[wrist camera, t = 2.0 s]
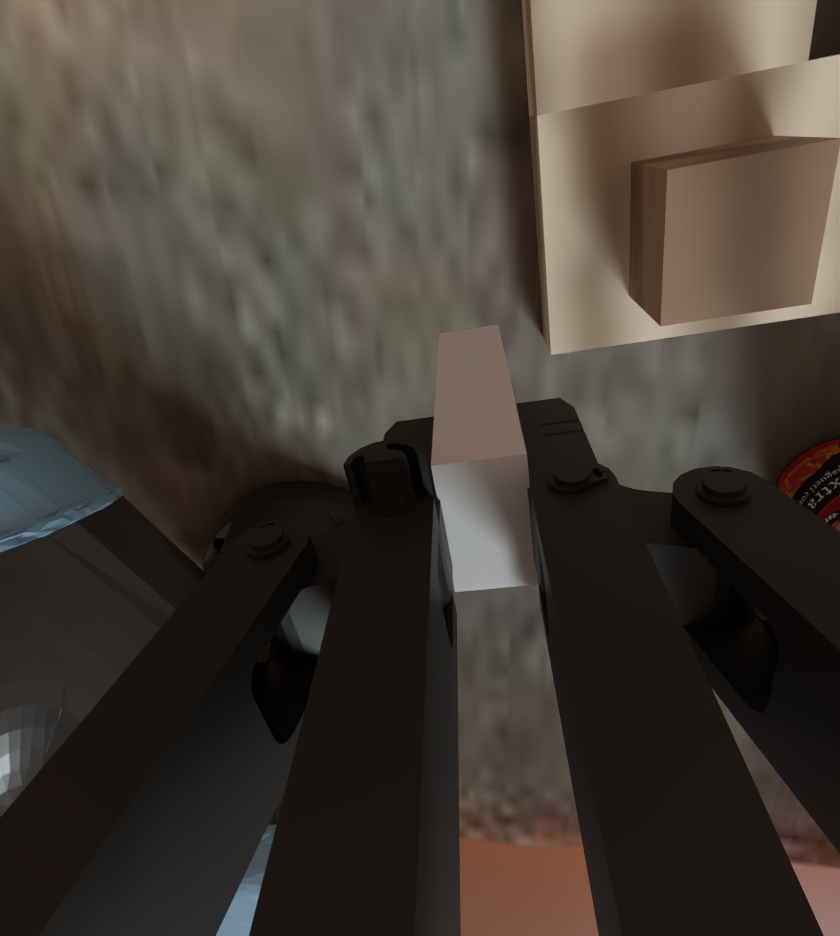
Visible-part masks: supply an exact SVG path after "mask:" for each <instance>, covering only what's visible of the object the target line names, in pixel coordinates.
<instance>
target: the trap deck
mask: <svg viewBox="0 0 840 936" xmlns="http://www.w3.org/2000/svg"><path fill="white" fill-rule="evenodd" d="M522 15H523V31H524V46H525V62H526V77H527V93H528V108H529V124H530V139H531V155H532V170H533V186H534V201H535V217H536V232H537V248H538V263H539V279H540V294H541V310H542V325H543V337H544V340H545V342H546V344H547V347H548V349H549V351H550V354H551V355H554V354H561V353H568V352H574V351H581V350H588V349H595V348H602V347H608V346H615V345H622V344H629V343H636V342H642V341H649V340H656V339H663V338H669V337H676V336H683V335H690V334H697V333H703V332H710V331H717V330H724V329H731V328H737V327H744V326H751V325H758V324H765V323H771V322H778V321H785V320H792V319H798V318H805V317H812V316H819V315H826V314H832V313H839V312H840V148H839V154H838V159H837V165H836V171H835V176H834V182H833V187H832V193H831V198H830V204H829V209H828V215H827V220H826V226H825V232H824V237H823V243H822V248H821V254H820V259H819V265H818V270H817V276H816V281H815V287H814V293H813V298H812V304H807V305H800V306H794V307H787V308H780V309H774V310H767V311H760V312H754V313H747V314H740V315H734V316H727V317H720V318H714V319H707V320H700V321H694V322H687V323H680V324H674V325H667V326H659V325H658V324H657V323H656V322H655V321H654V320H653V319H652V318H651V317H650V316H649V315H648V314H647V313H646V312H645V311H644V310H643V309H642V308H641V307H640V306H639V305H638V304H637V303H636V302H635V301H634V300H633V299H632V298H631V297H630V296H629V264H630V197H631V162H635V161H641V160H646V159H651V158H657V157H662V156H667V155H673V154H678V153H683V152H689V151H694V150H699V149H705V148H710V147H715V146H721V145H726V144H731V143H737V142H742V141H747V140H752V139H758V138H763V137H768V136H800V137H827V138H840V0H522Z"/></svg>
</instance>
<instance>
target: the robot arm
mask: <svg viewBox="0 0 840 936" xmlns="http://www.w3.org/2000/svg"><path fill="white" fill-rule="evenodd" d="M343 466H344V470H345V473H346V477H347V480H348V484H349V487H350V491H351V492H350V491H347V490H344V489H341V488H338V487H335V486H331V485H326V484H320V483H313V482H287V483H280V484H275V485H270V486H267V487H264V488H261V489H258V490H256V491H254V492H252V493H250V494H248V495H246V496H244V497H243V498H241V499H240V500H239V501H237V502H236V503H235V504H234V505H233V506H232V507H231V508H230V509H229V510H228V511H227V512H226V514H225V515H224V516H223V518H222V519H221V521H220V523H219V525H218V526H217V528H216V530H215V532H214V533H213V535H212V537H211V539H210V541H209V543H208V546H207V549H206V553H205V557H204V566H203V570H202V569H201V568H199V567H198V566H197V565H196V564H195V563H194V562H193V561H192V560H191V559H190V558H189V557H188V556H187V555H185V554H184V553H183V552H182V551H181V550H180V549H179V548H178V547H177V546H176V545H175V544H174V543H173V542H171V541H170V540H169V539H168V538H167V537H166V536H165V535H164V534H163V533H162V532H161V531H160V530H159V529H158V528H156V527H155V526H154V525H153V524H152V523H151V522H150V521H149V520H148V519H147V518H146V517H145V516H144V515H142V514H141V513H140V512H139V511H138V510H137V509H136V508H135V507H134V506H133V505H132V504H131V503H130V502H128V501H127V500H126V499H125V498H124V497H123V496H122V495H123V494H124V491H123V490H122V489H121V488H120V487H119V486H118V485H116V484H113V483H108V482H106V481H105V480H104V479H103V478H102V477H100V476H99V475H98V474H97V473H96V472H94V471H93V470H92V469H91V468H90V467H88V466H87V465H86V464H85V463H84V462H82V461H81V460H80V459H79V458H78V457H76V456H75V455H74V454H73V453H72V452H70V451H69V450H68V449H67V448H66V447H65V446H63V445H62V444H61V443H60V442H59V441H57V440H56V439H54V438H53V437H51V436H50V435H48V434H46V433H44V432H41V431H38V430H35V429H31V428H24V427H5V428H0V936H461V933H460V855H459V854H460V853H459V852H460V851H459V769H458V686H457V613H456V608H455V603H454V598H453V583H454V589H455V592H461V591H472V590H483V589H493V588H504V587H515V586H525V585H536V584H539V594H540V605H541V616H542V627H543V637H546V639H547V645H548V651H549V656H550V662H551V668H552V673H553V679H554V685H555V690H556V696H557V701H558V707H559V713H560V718H561V724H562V730H563V735H564V741H565V747H566V752H567V758H568V764H569V769H570V775H571V781H572V786H573V792H574V798H575V803H576V809H577V815H578V820H579V826H580V831H581V837H582V843H583V848H584V854H585V859H586V865H587V871H588V876H589V882H590V888H591V893H592V899H593V905H594V910H595V916H596V921H597V928H598V932H599V936H823V933H822V931H821V929H820V927H819V925H818V922H817V920H816V918H815V916H814V914H813V911H812V909H811V907H810V905H809V902H808V900H807V898H806V896H805V894H804V892H803V889H802V887H801V885H800V883H799V880H798V878H797V876H796V874H795V872H794V869H793V867H792V865H791V863H790V860H789V858H788V856H787V854H786V852H785V849H784V847H783V845H782V843H781V841H780V838H779V836H778V834H777V832H776V830H775V827H774V825H773V823H772V821H771V819H770V816H769V814H768V812H767V810H766V808H765V805H764V803H763V801H762V799H761V796H760V794H759V792H758V790H757V788H756V785H755V783H754V781H753V779H752V777H751V774H750V772H749V770H748V768H747V766H746V763H745V761H744V759H743V757H742V755H741V752H740V750H739V748H738V746H737V744H736V741H735V739H734V737H733V735H732V732H731V730H730V728H729V726H728V724H727V721H726V719H725V717H724V715H723V713H722V710H721V708H720V706H719V704H718V702H717V699H716V697H715V695H714V693H713V691H712V689H713V690H714V691H715V692H716V694H717V695H718V696H719V698H720V699H721V700H722V702H723V703H724V704H725V705H726V707H727V708H728V709H729V711H730V712H731V713H732V714H733V716H734V717H735V718H736V720H737V721H738V722H739V724H740V725H741V726H742V727H743V729H744V730H745V731H746V733H747V734H748V735H749V737H750V738H751V739H752V740H753V742H754V743H755V744H756V746H757V747H758V748H759V750H760V751H761V752H762V753H763V755H764V756H765V757H766V759H767V760H768V761H769V762H770V764H771V765H772V766H773V768H774V769H775V770H776V772H777V773H778V774H779V775H780V777H781V778H782V779H783V781H784V782H785V783H786V785H787V786H788V787H789V788H790V790H791V791H792V792H793V794H794V795H795V796H796V797H797V799H798V800H799V801H800V803H801V804H802V805H803V807H804V808H805V809H806V810H807V812H808V813H809V814H810V816H811V817H812V818H813V820H814V821H815V822H816V823H817V825H818V826H819V827H820V829H821V830H822V831H823V833H824V834H825V835H826V836H827V838H828V839H829V840H830V842H831V843H832V844H833V845H834V847H835V848H836V849H837V851H838V852H839V853H840V531H838V530H837V529H835V528H834V527H832V526H831V525H830V524H828V523H827V522H825V521H824V520H822V519H821V518H820V517H818V516H817V515H815V514H814V513H812V512H811V511H810V510H808V509H807V508H805V507H804V506H802V505H801V504H800V503H798V502H797V501H795V500H794V499H792V498H791V497H790V496H788V495H787V494H785V493H784V492H782V491H781V490H780V489H778V488H777V487H775V486H774V485H772V484H771V483H770V482H768V481H767V480H765V479H763V478H761V477H759V476H757V475H755V474H753V473H751V472H748V471H744V470H740V469H736V468H732V467H720V466H715V467H713V466H712V467H705V468H698V469H693V470H691V471H689V472H686V473H684V474H681V475H680V476H679V477H678V478H677V479H676V481H675V482H674V483H673V493H666V492H653V491H643V490H636V489H632V488H628V487H625V486H622V485H619V483H618V481H617V479H616V477H615V475H614V474H613V473H612V472H611V471H610V470H609V468H607V467H605V466H603V465H600V464H598V462H597V460H596V458H595V455H594V453H593V451H592V448H591V446H590V444H589V441H588V439H587V436H586V434H585V432H584V431H583V427H582V425H581V422H579V418H578V415H577V413H576V411H575V408H574V407H573V406H572V405H570V404H568V403H567V402H565V401H564V400H562V399H561V398H555V399H547V400H540V401H533V402H525V403H518V404H516V403H515V398H514V394H513V390H512V385H511V381H510V376H509V372H508V367H507V363H506V358H505V354H504V349H503V345H502V340H501V336H500V331H499V327H498V325H492V326H486V327H479V328H473V329H467V330H460V331H454V332H447V333H441V334H439V347H438V362H437V378H436V393H435V409H434V417H428V418H421V419H413V420H406V421H398V422H396V423H395V424H394V425H393V426H392V427H391V428H390V429H389V430H388V431H387V432H386V433H385V436H384V440H383V441H380V442H376V443H372V444H370V445H367V446H365V447H363V448H360V449H359V450H357V451H356V452H354V453H353V454H352V455H350V456H349V457H348V459H347V460H346V462H345V463H344V465H343ZM711 687H712V688H711Z"/></svg>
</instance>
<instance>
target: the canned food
mask: <svg viewBox="0 0 840 936" xmlns="http://www.w3.org/2000/svg"><path fill="white" fill-rule="evenodd" d="M776 487H777V488H778V489H780V490H781V491H782V492H784V493H785V494H787V495H788V496H790V497H791V498H792V499H794V500H795V501H797V502H798V503H800V504H801V505H802V506H804V507H805V508H807V509H808V510H810V511H811V512H812V513H814V514H815V515H817V516H818V517H820V518H821V519H822V520H824V521H825V522H827V523H828V524H830V525H831V526H832V527H834V528H835V529H837V530H838V531H840V439H836V440H832V441H828V442H825V443H822V444H820V445H818V446H815V447H813V448H811V449H810V450H808V451H806V452H804V453H803V454H801V455H800V456H799V457H798V458H796V459H795V460H794V461H793V462H792V463H791V464H790V465H789V466H788V467H787V468H786V469H785V470H784V472H783V474H782V475H781V477H780V478H779V480H778V483H777V486H776Z"/></svg>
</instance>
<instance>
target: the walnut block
mask: <svg viewBox="0 0 840 936" xmlns="http://www.w3.org/2000/svg"><path fill="white" fill-rule="evenodd" d="M839 148H840V138H827V137H800V136H768V137H763V138H758V139H752V140H747V141H742V142H737V143H731V144H726V145H721V146H715V147H710V148H705V149H699V150H694V151H689V152H683V153H678V154H673V155H667V156H662V157H657V158H651V159H646V160H641V161H635V162H631V197H630V264H629V296H630V297H631V298H632V299H633V300H634V301H635V302H636V303H637V304H638V305H639V306H640V307H641V308H642V309H643V310H644V311H645V312H646V313H647V314H648V315H649V316H650V317H651V318H652V319H653V320H654V321H655V322H656V323H657V324H658V325H659V326H667V325H674V324H680V323H687V322H694V321H700V320H707V319H714V318H720V317H727V316H734V315H740V314H747V313H754V312H760V311H767V310H774V309H780V308H787V307H794V306H800V305H807V304H812V298H813V293H814V287H815V281H816V276H817V270H818V265H819V259H820V254H821V248H822V243H823V237H824V232H825V226H826V220H827V215H828V209H829V204H830V198H831V193H832V187H833V182H834V176H835V171H836V165H837V159H838V154H839Z"/></svg>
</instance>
